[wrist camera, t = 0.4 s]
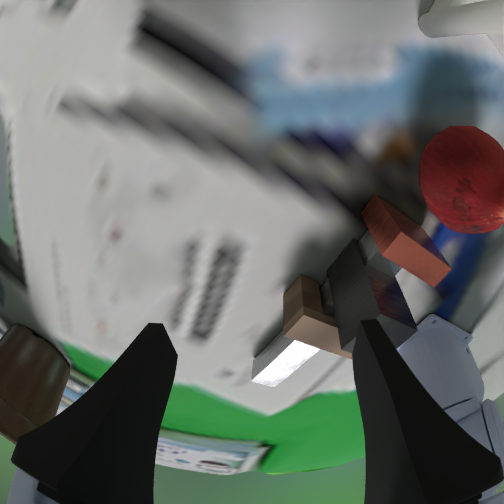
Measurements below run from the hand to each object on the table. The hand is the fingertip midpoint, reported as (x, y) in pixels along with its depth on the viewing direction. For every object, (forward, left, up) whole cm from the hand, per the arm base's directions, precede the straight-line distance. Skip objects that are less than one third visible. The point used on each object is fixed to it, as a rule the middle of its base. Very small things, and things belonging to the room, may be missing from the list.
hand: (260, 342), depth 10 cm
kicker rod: (-7, +5, -10) cm, 13 cm away
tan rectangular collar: (-7, +4, -10) cm, 13 cm away
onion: (-7, -9, -10) cm, 16 cm away
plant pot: (+20, +35, -10) cm, 42 cm away
